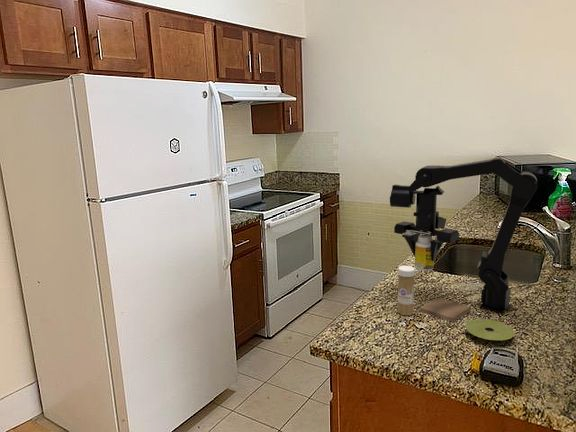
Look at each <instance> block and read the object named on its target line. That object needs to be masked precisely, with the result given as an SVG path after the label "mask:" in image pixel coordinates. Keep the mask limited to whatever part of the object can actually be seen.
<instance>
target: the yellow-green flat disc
mask: <svg viewBox="0 0 576 432" xmlns="http://www.w3.org/2000/svg"><path fill="white" fill-rule="evenodd" d="M464 328H465V329H466V331H467V332H468V333H470V334H471V335H473V336H475V337H478V338H480V339H484V340H489V341H507V340H510V339H512V338H513V337H515V335H516V334H515V330H514V329H513V328H512V327H511V326H510V325H507V324H506V323H504V322H501V321H497V320H493V319H484V318H478V319H471V320H469V321H467V322H466V323H465V325H464Z"/></svg>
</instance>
